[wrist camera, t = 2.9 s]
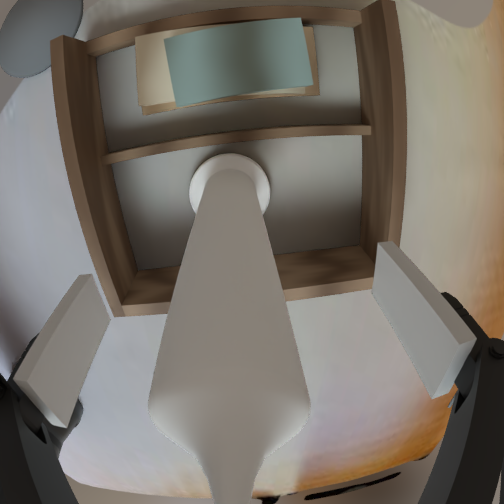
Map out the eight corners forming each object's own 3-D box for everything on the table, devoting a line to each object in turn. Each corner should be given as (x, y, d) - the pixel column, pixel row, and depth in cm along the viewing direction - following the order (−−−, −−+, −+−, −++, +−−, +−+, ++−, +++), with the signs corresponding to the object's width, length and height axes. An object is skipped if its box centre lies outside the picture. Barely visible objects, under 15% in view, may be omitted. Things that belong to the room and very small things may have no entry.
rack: (131, 281, 30) (114, 317, 25) (83, 49, 19) (49, 40, 14) (369, 253, 30) (393, 284, 25) (363, 17, 19) (394, 1, 14)
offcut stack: (149, 114, 23) (126, 117, 17) (141, 47, 20) (117, 34, 14) (313, 95, 23) (336, 93, 18) (306, 29, 20) (326, 10, 15)
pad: (2, 93, 19) (-2, 93, 19) (2, 9, 14) (-1, 8, 13) (84, 53, 19) (82, 53, 19) (84, -35, 14) (82, -37, 14)
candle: (277, 217, 28) (378, 519, 6) (204, 237, 28) (167, 543, 6) (258, 143, 25) (435, 443, 2) (179, 166, 25) (2, 464, 3)
